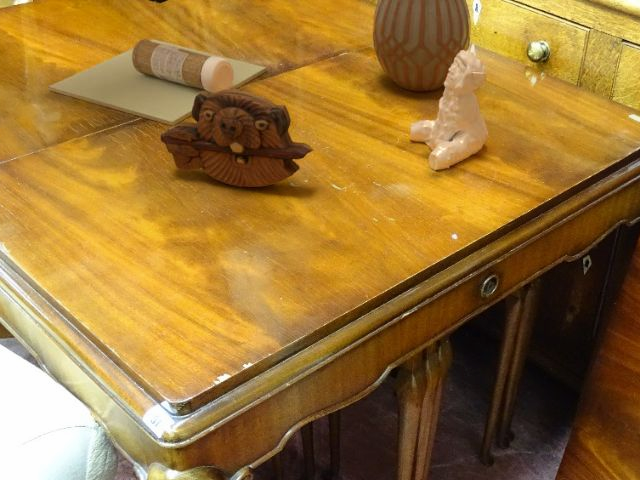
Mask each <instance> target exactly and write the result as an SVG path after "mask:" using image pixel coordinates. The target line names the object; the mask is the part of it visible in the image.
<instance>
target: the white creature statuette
mask: <svg viewBox="0 0 640 480" xmlns="http://www.w3.org/2000/svg"><path fill="white" fill-rule="evenodd" d="M486 81H487V73H486V66H485V65H484V64H483V60H482V59H480V58H478V56H477V55H475V54H473V52H471V51H470V50H469V49H468V50H467V51H465V50H461V51H460V52H459V53H458V54H457V56H456V57H455V58H454V63H453V64H452V65H451V68H449V73H448V74H447V77H446V81H445V82H444V85H443V86H444V91H443V92H442V96H441V97H440V99H439V100H438V112H437V114H436V115H437V117H436V119H433V120H432V119H431V120H430V119H423V120H422V119H420V120H418V121H415V122H412V123H411V122H410V125H409V126H410V127H409V137H410V138H409V139H410V141H413V142H415V143H416V142H417V143H424V144H425V145H426V146H428V147H429V149H430V151H431V152H430V154H429V155H428V165H429V167H430V169H432V170H434V171H437V170H438V171H441V170H445V169H450V167H451V166H454V165H455V164H458V163H459V162H463V161H464V160H466V159H468V158H469V157H471V156H473V155H475V154H477V153H478V152H479V150H481V149H483V145H484V144H485V143H486V141H487V139H488V137H489V134H490V133H489V130H488V128H487V124H486V122H485V118H484V116H483V115H482V112H481V111H480V109H481V107H480V105H479V101H478V99H479V98H478V97H477V96H476V95H477V94H475V90H477V89H478V88H479V86H481V85H484V83H485V82H486Z"/></svg>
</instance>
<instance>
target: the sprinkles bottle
mask: <svg viewBox="0 0 640 480" xmlns="http://www.w3.org/2000/svg"><path fill="white" fill-rule="evenodd" d="M150 40H151V39H150ZM150 40H149V39H146V38H144V39H140V40H139V41H137V42H136V43H135V45H134V46H133V48H134V49H133V48H132V49H133V52H132V62H133V66H134V67H135V69H136V70H137V71H138V72H140V73H142V74H149V75H153V76H157V77H158V78H162V79H165V80H169V81H173V82H176V83H180V84H184V85H188V86H193V87H197V88H201V89H205V90H206V91H208V92H210V93H216V92H219V91H222V90H228V89H230V87H231V85H232V82H233V75H234V74H233V68H232V65H231V63H230V62H229V61H228V60H226V59H224V58H220V57H216V56H212V57H211V56H206V55H202V54H198V53H195V52H191V51H187V50H184V49H181V48H177V47H173V46H169V45H165V44H159V43H155V42H152V41H150Z"/></svg>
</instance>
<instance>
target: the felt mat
mask: <svg viewBox="0 0 640 480" xmlns="http://www.w3.org/2000/svg"><path fill="white" fill-rule="evenodd" d="M150 41H152V42H155V43H159V44H165V45H169V46H173V47H177V48H181V49H184V50H187V51H191V52H195V53H198V54H202V55H206V56H211V57H212V56H216V57H220V58H224V59H226V60H228V61H229V62H230V63H231V65H232V68H233V74H234V75H233V82H232V85H231V87H230V89H237V90H238V89H239V88H241V87H242V86H244V85H246V84H247V83H249V82H251V81H253V80H254V79H256V78H258V77H259V76H261V75H263V74H265V73H266V72H267V71H268V70H267V67H266V66H262V65H259V64H255V63H250V62H246V61H242V60H238V59H233V58H231V57H226V56H222V55H218V54H214V53H211V52H206V51H202V50H199V49H194V48H190V47H187V46H181V45H178V44H175V43H174V44H173V43H169V42H165V41H162V40H157V39H150ZM133 49H134V47H132V48H130V49H127V50H126V51H124V52H121V53H119V54H118V55H115V56H113V57H111V58H109V59H106V60H104V61H102V62H100V63H97V64H95V65H92V66H91V67H88V68H87V69H84V70H82V71H80V72H77V73H75V74H73V75H71V76H68V77H66V78H63V79H62V80H60V81H57V82H55V83H53V84H51V85H49V86H48V89H49V91H50V92H53V93H56V94H60V95H63V96H67V97H71V98H74V99H78V100H81V101H85V102H88V103H92V104H95V105H99V106H102V107H104V108H109V109H112V110H116V111H120V112H123V113H126V114H130V115H134V116H137V117H140V118H144V119H147V120H151V121H154V122H158V123H162V124H165V125H168V126H170V127H172V126H176V125H178V124H179V123H181V122H184V121H185V120H186V119H188V118H190V117H192V107H193V105H194V100H195V97H196V96H197V95H198V94H199V93H200V92H202V91H206V90H205V89H201V88H197V87H193V86H188V85H184V84H180V83H176V82H173V81H169V80H165V79H162V78H158V77H157V76H153V75H149V74H142V73H140V72H138V71H137V70H136V69H135V67H134V66H133V62H132V52H133ZM206 92H208V91H206ZM208 93H209V94H213V93H210V92H208Z"/></svg>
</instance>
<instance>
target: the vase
mask: <svg viewBox="0 0 640 480" xmlns="http://www.w3.org/2000/svg"><path fill="white" fill-rule="evenodd" d="M374 9H375V10H374V15H373V23H372V40H373V48H374V52H375V55H376V58H377V61H378V63H379V65H380V67H381V68H382V70H383V71H384V73H385V74H386V75H387V76H388V77H389V78H390V79H391V80H392V81H393V82H394V83H395V84H396V85H398V86H399V87H400V88H402V89H405V90H408V91H411V92H412V91H413V92H431V91H435V90H439V89H441V88H442V87H443V86H444V82H445V81H446V77H447V74H448V73H449V68H451V65H452V64H453V63H454V58H455V57H456V56H457V54H458V53H459V52H460V51H461V50H465V51H467V50H469V48H470V43H471V34H472V33H471V32H472V31H471V29H472V28H471V27H472V24H471V14H470V9H469V6H468V2H467V0H378V1H377V4H376V6H375V8H374Z"/></svg>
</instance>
